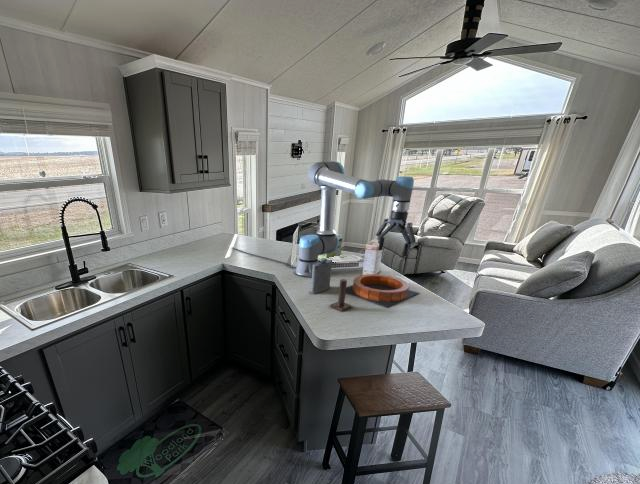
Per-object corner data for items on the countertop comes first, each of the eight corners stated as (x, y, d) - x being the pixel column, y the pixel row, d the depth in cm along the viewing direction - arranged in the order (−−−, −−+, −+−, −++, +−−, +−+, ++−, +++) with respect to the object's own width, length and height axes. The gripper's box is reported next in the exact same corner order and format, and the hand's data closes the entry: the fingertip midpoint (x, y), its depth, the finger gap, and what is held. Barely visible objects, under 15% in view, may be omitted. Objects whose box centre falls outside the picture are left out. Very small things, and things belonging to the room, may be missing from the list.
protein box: (314, 260, 230) (315, 239, 224) (329, 256, 238) (330, 235, 232) (325, 264, 222) (327, 241, 216) (340, 260, 230) (342, 238, 224)
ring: (342, 289, 179) (343, 281, 177) (372, 279, 193) (373, 271, 191) (387, 306, 158) (388, 296, 156) (417, 292, 172) (419, 284, 170)
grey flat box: (331, 287, 183) (334, 256, 176) (315, 294, 175) (317, 262, 168) (326, 286, 186) (329, 255, 178) (309, 292, 178) (311, 260, 170)
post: (330, 306, 161) (332, 279, 155) (339, 302, 164) (342, 276, 159) (341, 311, 155) (344, 284, 150) (351, 307, 159) (354, 280, 153)
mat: (340, 290, 179) (340, 289, 179) (371, 279, 193) (372, 278, 193) (387, 307, 158) (387, 306, 158) (418, 293, 172) (418, 292, 172)
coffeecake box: (368, 268, 211) (372, 239, 203) (380, 270, 207) (384, 240, 199) (361, 275, 200) (365, 244, 192) (373, 277, 196) (378, 245, 188)
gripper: (372, 208, 166) (366, 248, 175) (420, 215, 147) (411, 260, 156) (381, 206, 170) (375, 246, 179) (429, 213, 151) (419, 257, 160)
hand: (392, 253), depth 167 cm, fingers open, 13 cm apart
